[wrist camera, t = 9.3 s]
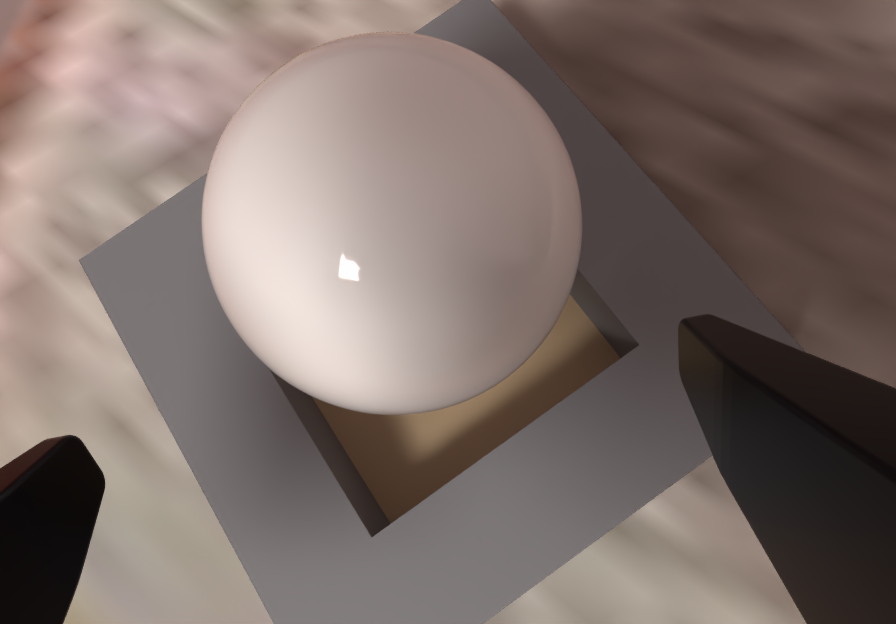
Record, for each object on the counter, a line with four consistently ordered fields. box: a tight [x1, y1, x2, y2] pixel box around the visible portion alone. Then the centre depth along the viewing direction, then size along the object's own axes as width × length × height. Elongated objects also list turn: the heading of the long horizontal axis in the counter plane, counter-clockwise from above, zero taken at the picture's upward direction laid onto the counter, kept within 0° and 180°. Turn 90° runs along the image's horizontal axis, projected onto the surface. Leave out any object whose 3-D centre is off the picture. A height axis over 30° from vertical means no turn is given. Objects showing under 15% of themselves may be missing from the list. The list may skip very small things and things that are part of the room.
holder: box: [79, 0, 805, 624], centre depth 17 cm, size 14×14×3 cm
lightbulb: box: [201, 32, 583, 415], centre depth 13 cm, size 6×6×11 cm
